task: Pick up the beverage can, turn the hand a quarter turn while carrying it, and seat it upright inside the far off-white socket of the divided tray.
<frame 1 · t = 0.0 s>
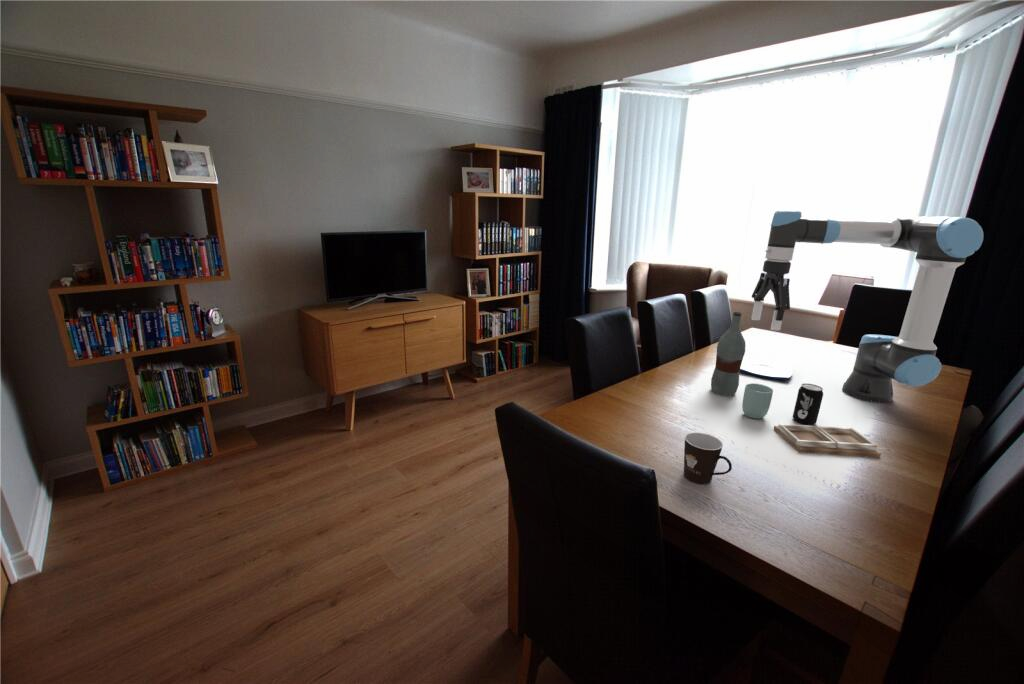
hand: (764, 324, 152), 28 cm above the table, fingers open, 13 cm apart
plate: (763, 372, 193), on the table
divided tray: (823, 442, 133), on the table
bottle: (722, 392, 168), on the table
cup: (753, 416, 149), on the table
coffee mug: (700, 481, 112), on the table
beverage can: (803, 422, 147), on the table
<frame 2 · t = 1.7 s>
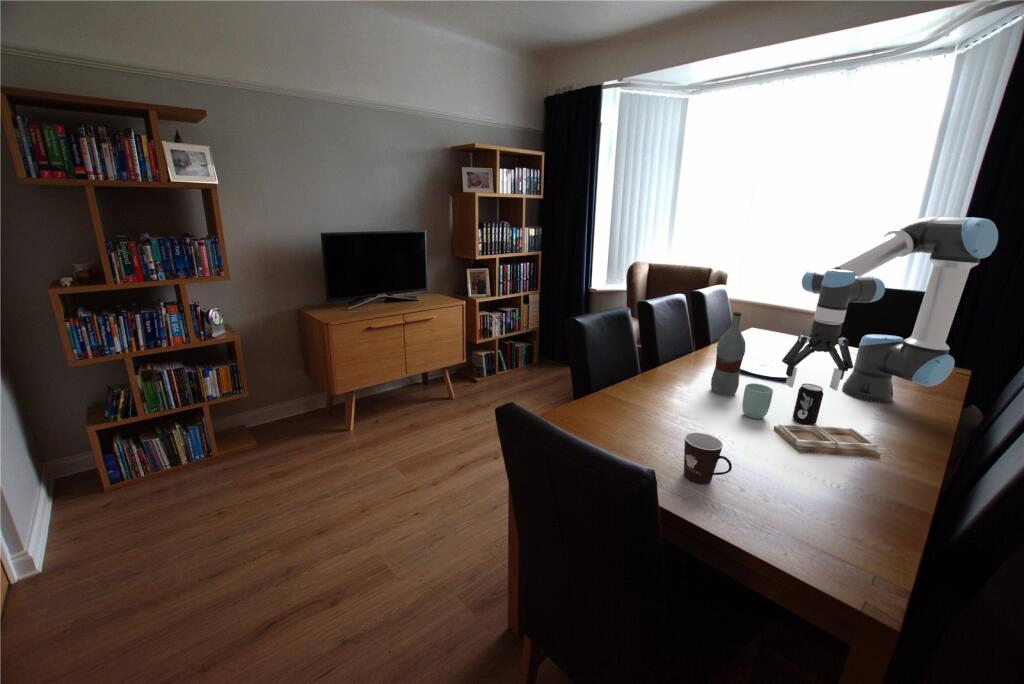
hand: (811, 387, 143), 12 cm above the table, fingers open, 13 cm apart
nothing on the table moved.
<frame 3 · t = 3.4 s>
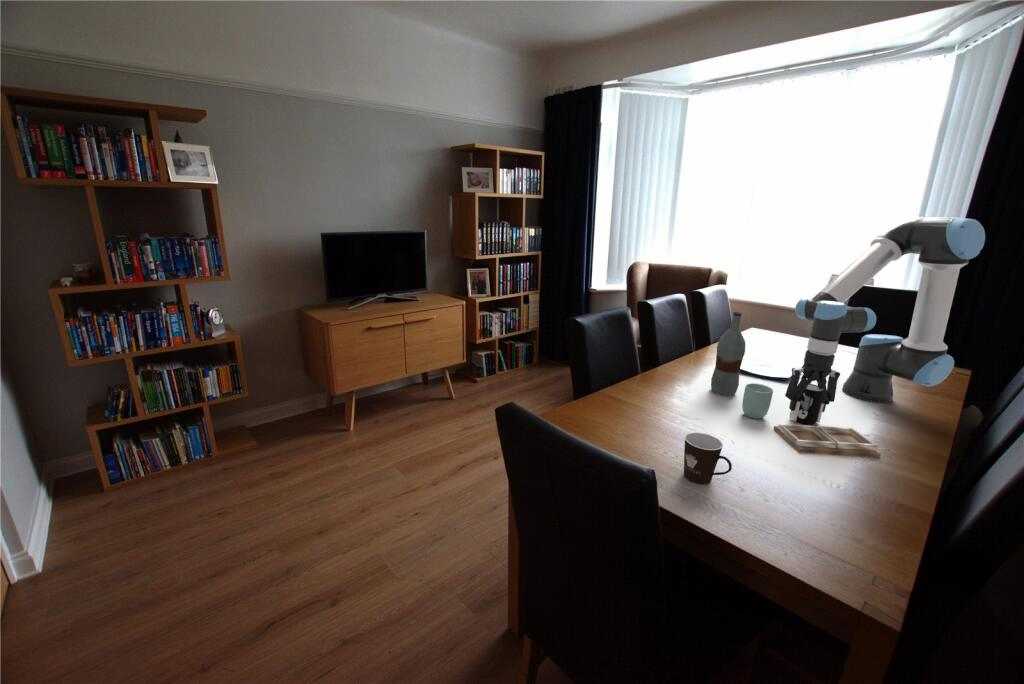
hand: (804, 420, 147), 1 cm above the table, fingers closed on beverage can, 7 cm apart
beverage can: (803, 422, 147), on the table, touching gripper
everything else where it was.
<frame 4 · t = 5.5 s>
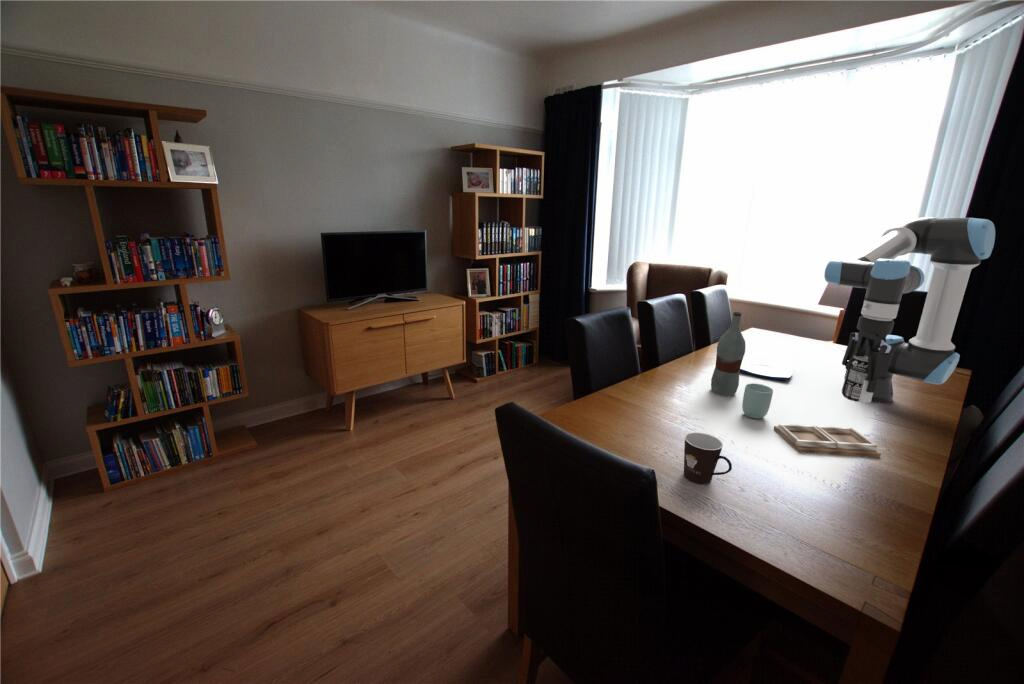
hand: (855, 396, 129), 15 cm above the table, fingers closed on beverage can, 7 cm apart
beverage can: (854, 399, 129), point 14 cm above the table, touching gripper
everything else where it was.
when the fingers open (3 cm above the table, at t = 7.8 s): beverage can drops 2 cm, resting on divided tray.
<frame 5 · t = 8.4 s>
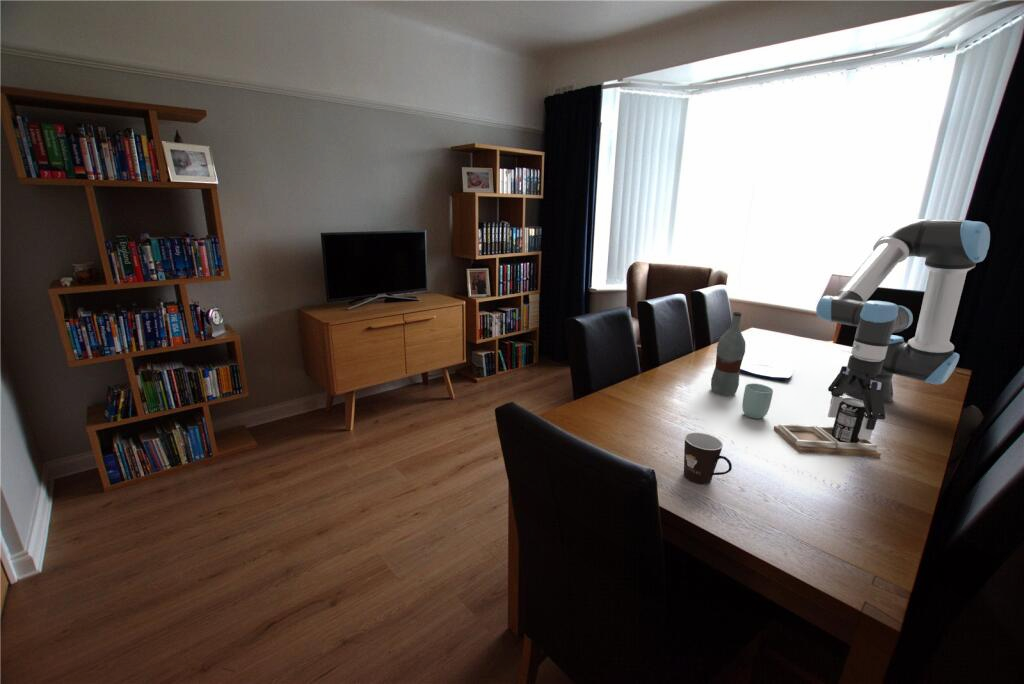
hand: (847, 427, 132), 5 cm above the table, fingers open, 13 cm apart
beverage can: (844, 440, 133), point 1 cm above the table, touching divided tray
everything else where it was.
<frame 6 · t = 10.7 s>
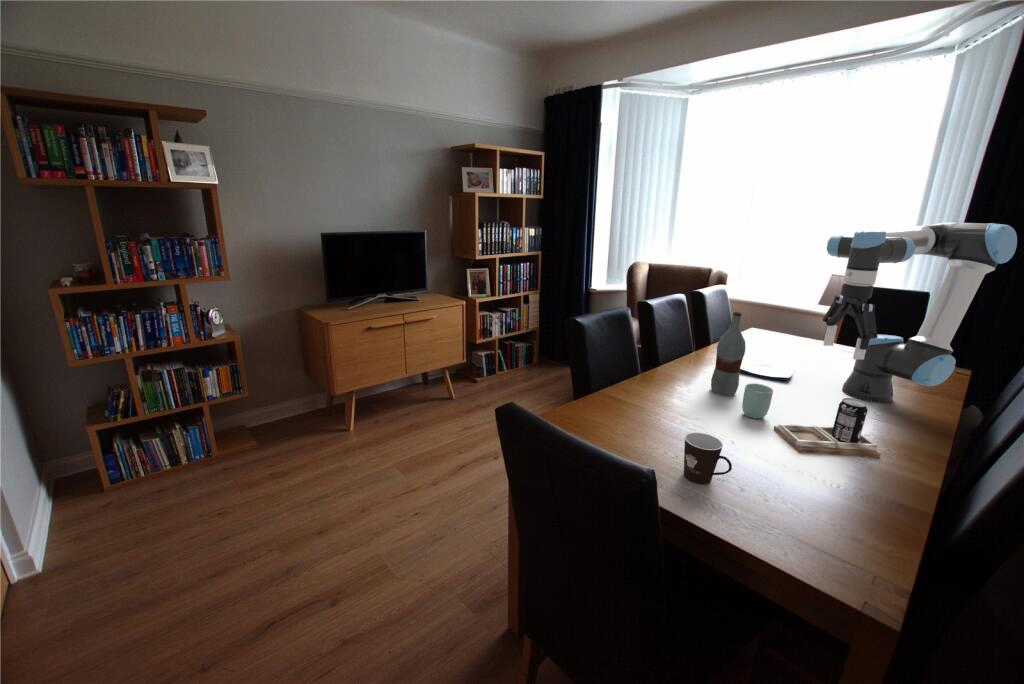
hand: (842, 352, 142), 23 cm above the table, fingers open, 13 cm apart
nothing on the table moved.
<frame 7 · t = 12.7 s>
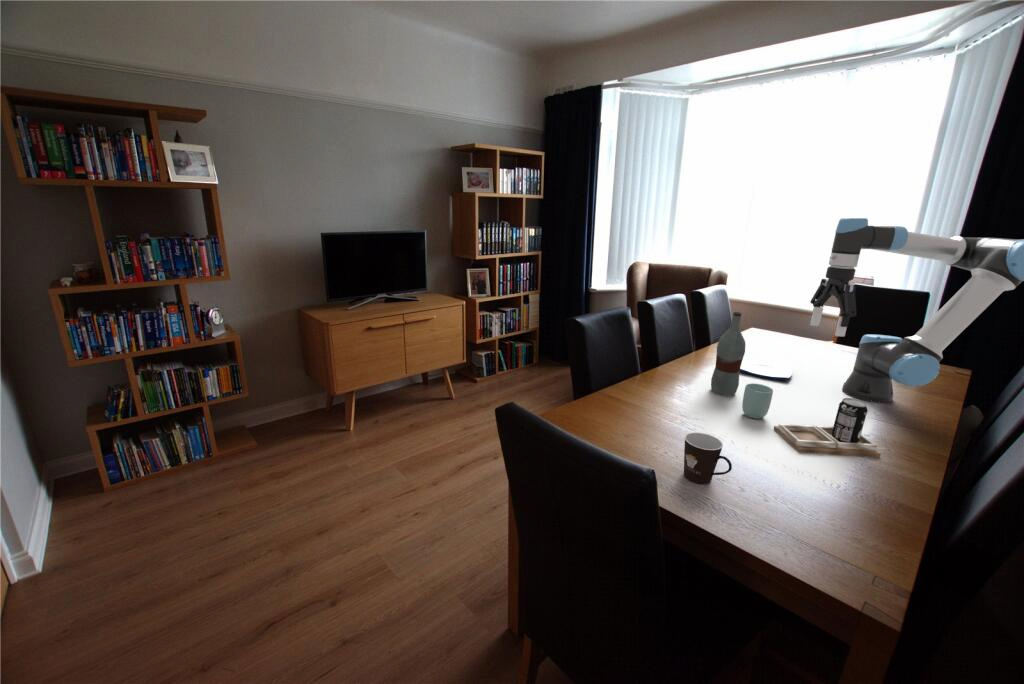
hand: (826, 330, 153), 27 cm above the table, fingers open, 13 cm apart
nothing on the table moved.
at the end: beverage can inside the target area on the divided tray (0.0 cm from its centre), point 1.0 cm above the divided tray's base; beverage can tilted 0°; the gripper is holding nothing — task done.
